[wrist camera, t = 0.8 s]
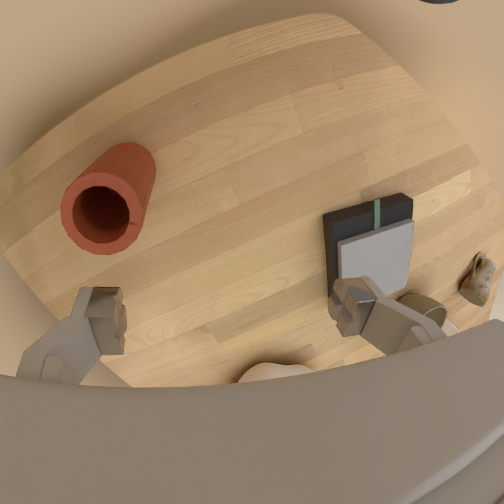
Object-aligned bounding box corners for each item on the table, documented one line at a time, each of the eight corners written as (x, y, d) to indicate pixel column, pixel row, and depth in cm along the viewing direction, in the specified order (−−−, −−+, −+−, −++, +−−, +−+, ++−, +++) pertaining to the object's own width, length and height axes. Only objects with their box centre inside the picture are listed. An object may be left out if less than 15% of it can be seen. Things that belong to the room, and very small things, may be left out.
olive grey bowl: (418, 315, 50) (438, 339, 44) (377, 332, 49) (396, 360, 43) (429, 274, 45) (454, 298, 39) (386, 290, 44) (410, 319, 38)
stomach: (221, 400, 56) (322, 371, 63) (239, 457, 48) (344, 420, 55) (225, 361, 40) (364, 322, 47) (254, 448, 31) (398, 389, 38)
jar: (145, 134, 25) (124, 158, 16) (163, 188, 28) (155, 240, 19) (91, 155, 24) (47, 192, 15) (111, 206, 28) (83, 264, 18)
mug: (488, 261, 50) (501, 302, 45) (453, 274, 54) (463, 316, 49) (492, 246, 44) (507, 291, 39) (453, 261, 49) (466, 307, 44)
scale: (402, 181, 34) (419, 191, 31) (395, 275, 42) (408, 288, 39) (321, 203, 33) (335, 215, 30) (328, 301, 41) (338, 317, 38)
